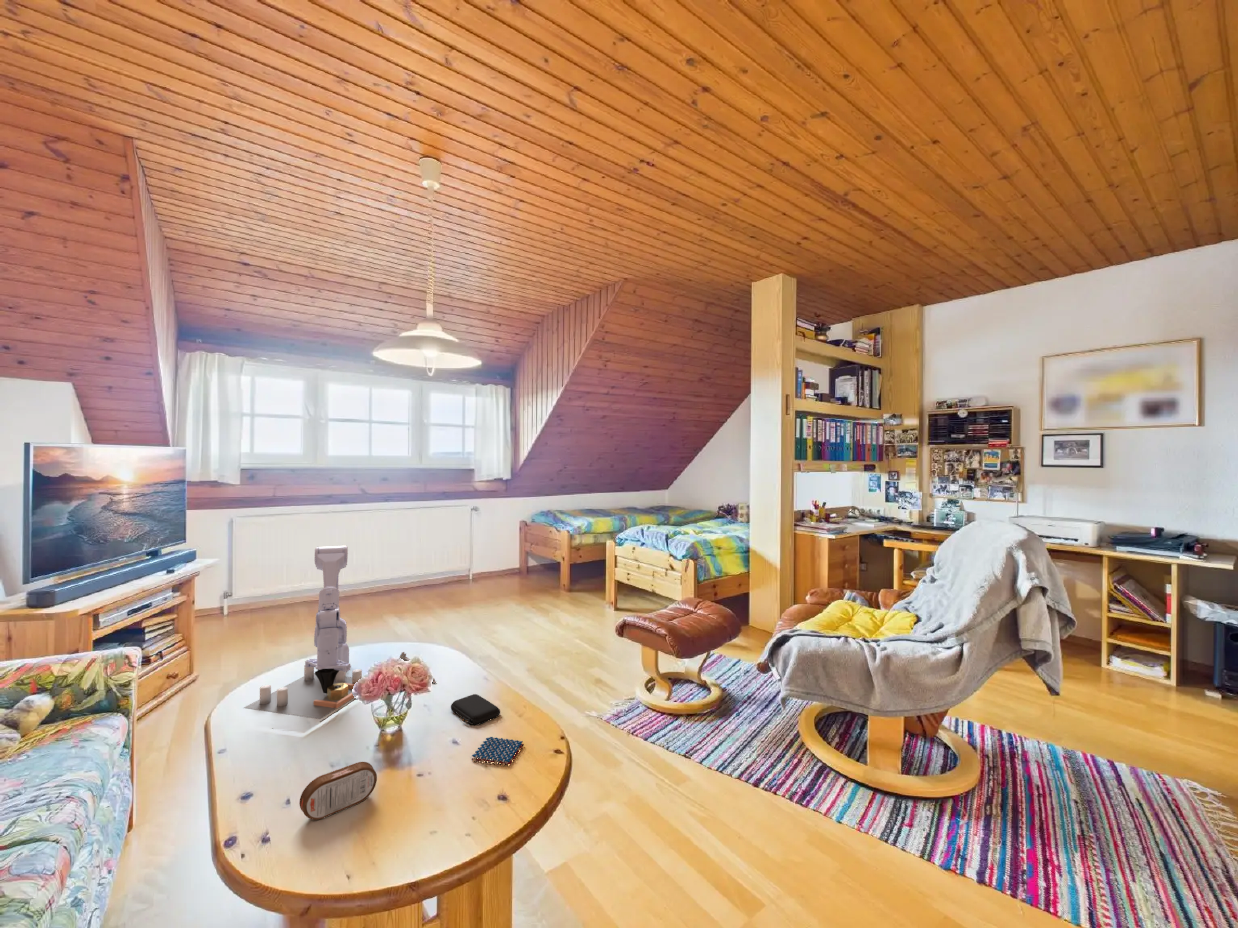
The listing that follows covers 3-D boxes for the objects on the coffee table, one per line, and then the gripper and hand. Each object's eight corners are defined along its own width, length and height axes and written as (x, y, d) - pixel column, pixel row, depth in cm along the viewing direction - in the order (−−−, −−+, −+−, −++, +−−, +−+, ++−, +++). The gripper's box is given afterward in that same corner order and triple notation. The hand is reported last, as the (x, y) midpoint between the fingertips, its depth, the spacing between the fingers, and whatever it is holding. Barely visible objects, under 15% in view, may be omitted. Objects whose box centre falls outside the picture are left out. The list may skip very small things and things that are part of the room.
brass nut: (337, 691, 169) (337, 681, 169) (351, 693, 168) (351, 683, 168) (323, 699, 163) (323, 689, 163) (338, 701, 162) (338, 691, 162)
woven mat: (510, 769, 132) (510, 761, 132) (470, 763, 134) (470, 755, 134) (525, 747, 142) (525, 739, 142) (488, 741, 144) (488, 734, 144)
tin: (373, 790, 122) (373, 754, 122) (378, 797, 120) (379, 760, 120) (298, 821, 112) (299, 781, 111) (303, 829, 109) (303, 788, 109)
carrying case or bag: (444, 711, 160) (470, 730, 150) (444, 701, 160) (470, 719, 150) (476, 700, 168) (503, 717, 158) (476, 690, 168) (503, 707, 157)
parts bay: (344, 686, 172) (344, 682, 172) (366, 689, 171) (366, 685, 171) (313, 704, 160) (313, 700, 160) (336, 708, 158) (337, 704, 158)
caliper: (398, 669, 190) (399, 651, 189) (401, 668, 191) (401, 650, 190) (434, 684, 178) (434, 666, 178) (437, 683, 179) (437, 665, 179)
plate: (311, 675, 182) (311, 659, 182) (379, 683, 177) (379, 667, 177) (243, 710, 157) (243, 692, 157) (320, 722, 152) (320, 703, 151)
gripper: (297, 650, 163) (297, 694, 164) (338, 655, 160) (338, 700, 161) (315, 642, 170) (314, 684, 171) (355, 646, 167) (354, 690, 168)
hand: (327, 691), depth 166 cm, fingers closed
